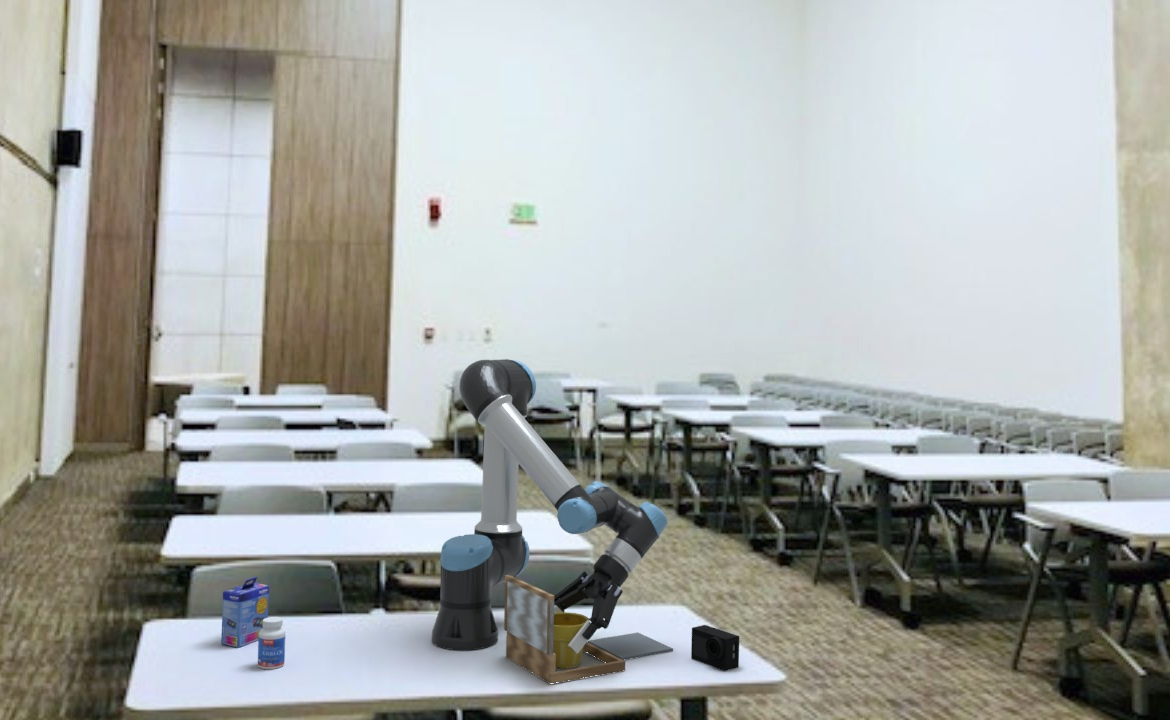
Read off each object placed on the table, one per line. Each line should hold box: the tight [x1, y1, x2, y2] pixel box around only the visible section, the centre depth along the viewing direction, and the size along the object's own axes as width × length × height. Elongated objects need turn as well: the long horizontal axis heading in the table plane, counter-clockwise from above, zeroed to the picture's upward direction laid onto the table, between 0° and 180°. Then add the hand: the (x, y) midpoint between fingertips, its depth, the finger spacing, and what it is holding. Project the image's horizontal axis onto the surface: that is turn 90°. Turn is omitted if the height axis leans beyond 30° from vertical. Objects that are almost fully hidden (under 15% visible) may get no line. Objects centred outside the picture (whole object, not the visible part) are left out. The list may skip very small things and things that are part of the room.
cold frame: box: [503, 575, 626, 684], centre depth 210 cm, size 20×19×18 cm
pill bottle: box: [257, 616, 286, 670], centre depth 205 cm, size 6×5×10 cm
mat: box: [587, 632, 674, 661], centre depth 223 cm, size 14×14×1 cm
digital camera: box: [690, 624, 740, 672], centre depth 212 cm, size 10×5×7 cm, turn 38°
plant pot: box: [553, 611, 590, 669], centre depth 210 cm, size 10×10×10 cm
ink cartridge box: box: [220, 576, 270, 649], centre depth 222 cm, size 10×6×14 cm, turn 158°
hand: (556, 641), depth 209 cm, fingers open, 13 cm apart
